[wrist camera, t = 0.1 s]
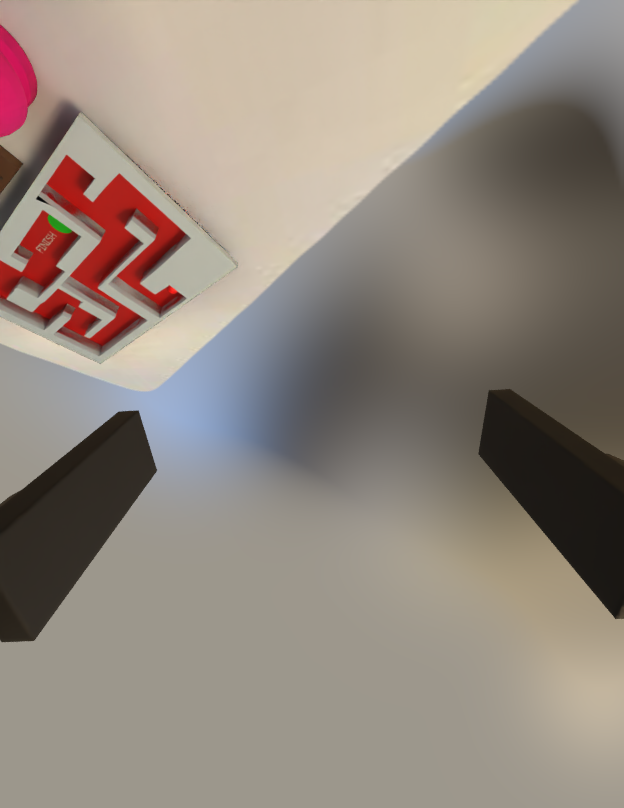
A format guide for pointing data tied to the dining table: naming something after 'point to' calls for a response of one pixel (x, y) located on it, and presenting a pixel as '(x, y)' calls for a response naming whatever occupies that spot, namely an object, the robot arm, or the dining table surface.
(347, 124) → the dining table surface
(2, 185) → the board
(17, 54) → the pepper mill
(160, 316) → the maze game
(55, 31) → the dining table surface
